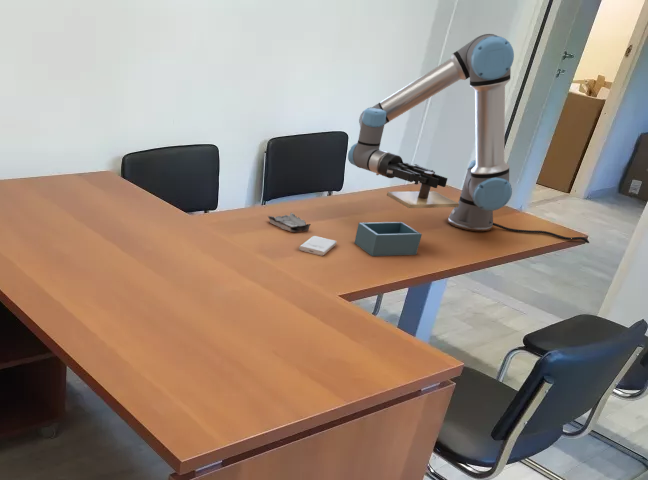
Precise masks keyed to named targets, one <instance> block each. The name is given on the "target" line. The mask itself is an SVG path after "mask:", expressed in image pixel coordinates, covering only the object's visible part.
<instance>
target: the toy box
mask: <svg viewBox="0 0 648 480" xmlns="http://www.w3.org/2000/svg"><path fill="white" fill-rule="evenodd" d="M422 235H423V234H422V232H420V231H418V230H416V229H415V228H413V227H412V226H409V225H408V224H406V223H405V222H403V221H381V222H380V221H379V222H377V221H376V222H375V221H374V222H369V221H367V222H358V224H357V229H356V233H355V237H354V242H353V243H354V244H355V245H356V246H358V247H359V248H360V249H361V250H363V251H364V252H366V253H367V254H368V255H370V256H371V257H384V256H385V257H388V256H389V257H390V256H416V255H417V254H418V250H419V248H420V243H421V239H422Z"/></svg>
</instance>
